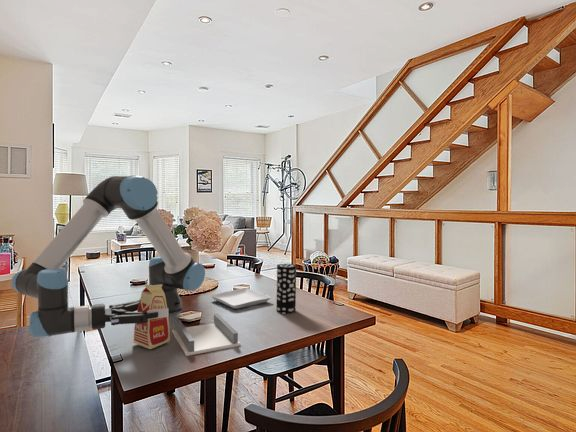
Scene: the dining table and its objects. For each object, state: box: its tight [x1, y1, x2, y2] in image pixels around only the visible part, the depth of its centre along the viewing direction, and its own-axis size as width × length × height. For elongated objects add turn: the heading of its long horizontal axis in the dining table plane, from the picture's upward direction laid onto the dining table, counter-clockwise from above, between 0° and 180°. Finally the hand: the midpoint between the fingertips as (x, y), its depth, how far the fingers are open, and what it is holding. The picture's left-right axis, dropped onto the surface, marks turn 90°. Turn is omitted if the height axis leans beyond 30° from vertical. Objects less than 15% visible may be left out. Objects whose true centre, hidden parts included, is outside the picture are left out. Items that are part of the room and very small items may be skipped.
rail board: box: [171, 313, 242, 357], centre depth 129 cm, size 22×18×4 cm
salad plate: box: [209, 287, 272, 310], centre depth 173 cm, size 21×21×3 cm
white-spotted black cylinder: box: [276, 263, 297, 315], centre depth 160 cm, size 8×8×20 cm
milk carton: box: [132, 283, 171, 350], centre depth 123 cm, size 9×9×20 cm
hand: (165, 307), depth 125 cm, fingers closed on milk carton, 10 cm apart
